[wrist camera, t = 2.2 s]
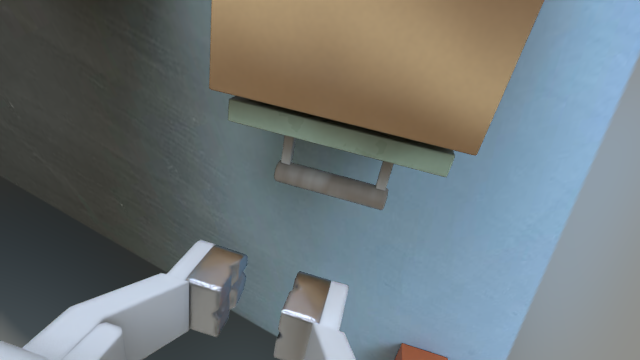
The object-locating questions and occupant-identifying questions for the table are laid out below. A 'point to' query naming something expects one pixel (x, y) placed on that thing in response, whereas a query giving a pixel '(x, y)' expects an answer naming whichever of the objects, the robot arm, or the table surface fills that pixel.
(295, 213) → the table surface
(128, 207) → the table surface
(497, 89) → the cabinet
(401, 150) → the drawer
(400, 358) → the block
